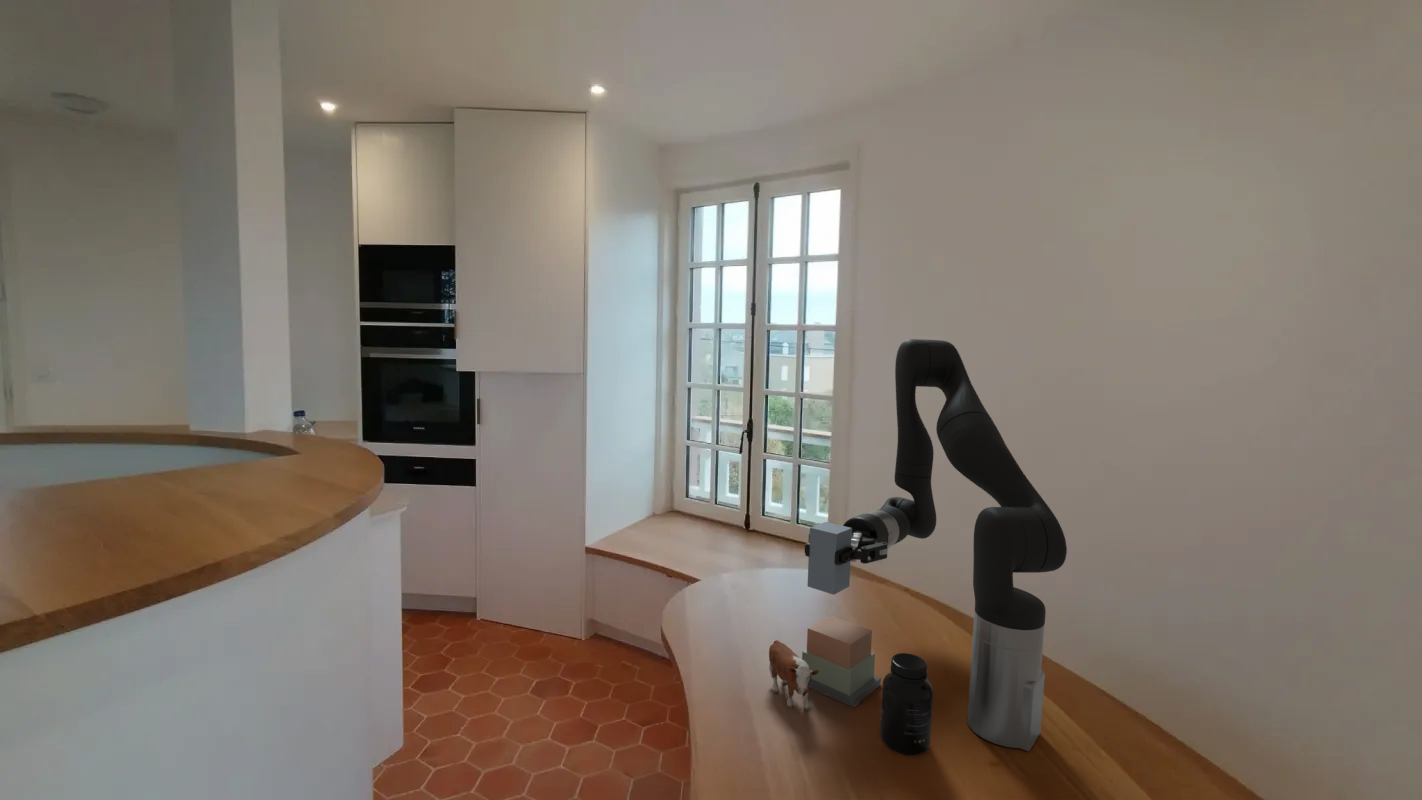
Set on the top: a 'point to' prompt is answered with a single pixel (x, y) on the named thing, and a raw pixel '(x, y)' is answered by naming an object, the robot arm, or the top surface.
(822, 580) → the column brick
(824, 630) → the brick tower
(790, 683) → the bull figurine
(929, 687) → the supplement bottle
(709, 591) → the top surface
